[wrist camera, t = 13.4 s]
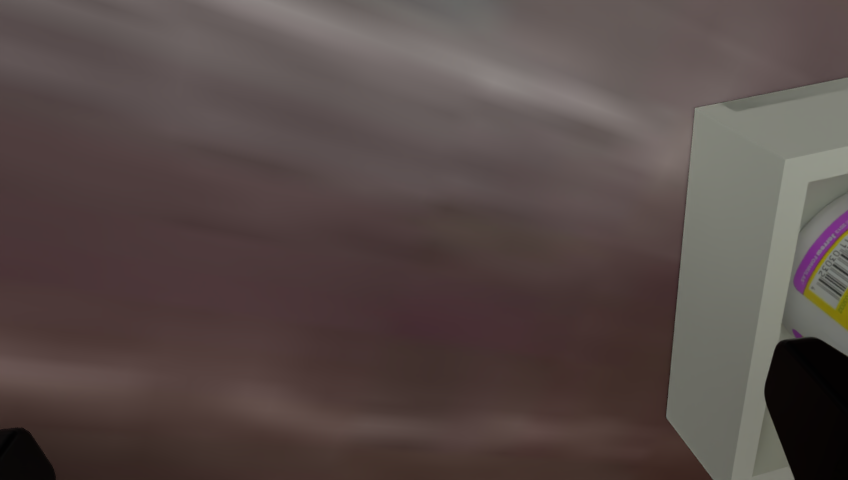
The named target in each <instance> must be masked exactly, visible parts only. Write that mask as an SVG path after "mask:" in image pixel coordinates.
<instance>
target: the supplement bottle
mask: <svg viewBox="0 0 848 480" xmlns="http://www.w3.org/2000/svg"><path fill="white" fill-rule="evenodd" d="M782 323H783V325H784V326H785V328H786V329H787V330H788V332H789V333H790V334H791V335H792V336H793V337H794V338H801V337H816V338H819V339H821V340H823V341H824V342H826V343H828V344H829V345H831V346H832V347H834V348H836V349H837V350H839V351H840V352H842V353H844V354H845V355H847V356H848V192H847V193H845V194H843V195H842V196H840V197H838V198H837V199H835V200H834V201H832V202H831V203H830V204H828V205H827V206H826V207H824V208H823V209H822V210H821V211H820V212H818V213H817V214H816V215H815V216H814V217H813V218H812V219H811V220H810V221H809V222H808V223H807V224H806V226H805V227H804V228H803V229H802V230H801V232H800V233H799V234H798V239H797V245H796V250H795V255H794V260H793V266H792V271H791V276H790V281H789V287H788V292H787V297H786V302H785V307H784V313H783V318H782Z"/></svg>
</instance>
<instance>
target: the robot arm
mask: <svg viewBox="0 0 848 480" xmlns="http://www.w3.org/2000/svg"><path fill="white" fill-rule="evenodd" d="M764 396H765V401H766V405H767V408H768V411H769V413H770V416H771V419H772V421H773V424H774V427H775V429H776V432H777V434H778V437H779V440H780V442H781V445H782V448H783V450H784V453H785V456H786V458H787V461H788V464H789V466H790V469H791V471H792V474H793V477H794V479H795V480H848V356H847V355H845V354H844V353H842V352H840V351H839V350H837V349H836V348H834V347H832V346H831V345H829V344H828V343H826V342H824V341H823V340H821V339H819V338H816V337H801V338H792V339H784V340H781V341H780V342H779V343H778V344H777V345H776V347H775V350H774V353H773V357H772V360H771V364H770V367H769V371H768V375H767V378H766V382H765V387H764ZM0 480H56V477H55V472H54V469H53V467H52V465H51V463H50V462H49V460H48V459H47V457H46V456H45V454H44V453H43V451H42V450H41V448H40V447H39V445H38V444H37V442H36V441H35V439H34V438H33V436H32V435H31V433H30V432H29V431H27V430H26V429H24V428H9V429H1V430H0Z"/></svg>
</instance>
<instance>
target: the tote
mask: <svg viewBox="0 0 848 480" xmlns="http://www.w3.org/2000/svg"><path fill="white" fill-rule="evenodd" d="M847 192H848V78H843V79H838V80H833V81H828V82H823V83H818V84H813V85H808V86H803V87H798V88H793V89H788V90H783V91H778V92H773V93H768V94H763V95H758V96H753V97H748V98H743V99H738V100H733V101H728V102H723V103H718V104H713V105H708V106H703V107H698V108H695V114H694V125H693V135H692V146H691V157H690V167H689V178H688V189H687V199H686V210H685V221H684V231H683V242H682V253H681V263H680V274H679V285H678V295H677V306H676V316H675V327H674V338H673V348H672V359H671V370H670V380H669V391H668V402H667V412H666V418H667V419H668V421H669V422H670V423H671V425H672V426H673V427H674V429H675V430H676V431H677V433H678V434H679V435H680V437H681V438H682V439H683V441H684V442H685V443H686V444H687V446H688V447H689V448H690V450H691V451H692V452H693V454H694V455H695V456H696V458H697V459H698V460H699V462H700V463H701V464H702V466H703V467H704V468H705V470H706V471H707V472H708V474H709V475H710V476H711V477H712V479H713V480H795V479H794V477H793V474H792V471H791V469H790V466H789V464H788V461H787V458H786V456H785V453H784V450H783V448H782V445H781V442H780V440H779V437H778V434H777V432H776V429H775V427H774V424H773V421H772V419H771V416H770V413H769V411H768V408H767V405H766V401H765V396H764V387H765V382H766V378H767V375H768V371H769V367H770V364H771V360H772V357H773V353H774V350H775V347H776V345H777V344H778V343H779V342H780V341H781V340H784V339H792V338H794V337H793V336H792V335H791V334H790V333H789V332H788V330H787V329H786V328H785V326H784V325H783V323H782V318H783V313H784V307H785V302H786V297H787V292H788V287H789V281H790V276H791V271H792V266H793V260H794V255H795V250H796V245H797V239H798V234H799V233H800V232H801V230H802V229H803V228H804V227H805V226H806V224H807V223H808V222H809V221H810V220H811V219H812V218H813V217H814V216H815V215H816V214H817V213H818V212H820V211H821V210H822V209H823V208H824V207H826V206H827V205H828V204H830V203H831V202H832V201H834V200H835V199H837V198H838V197H840V196H842V195H843V194H845V193H847Z"/></svg>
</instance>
